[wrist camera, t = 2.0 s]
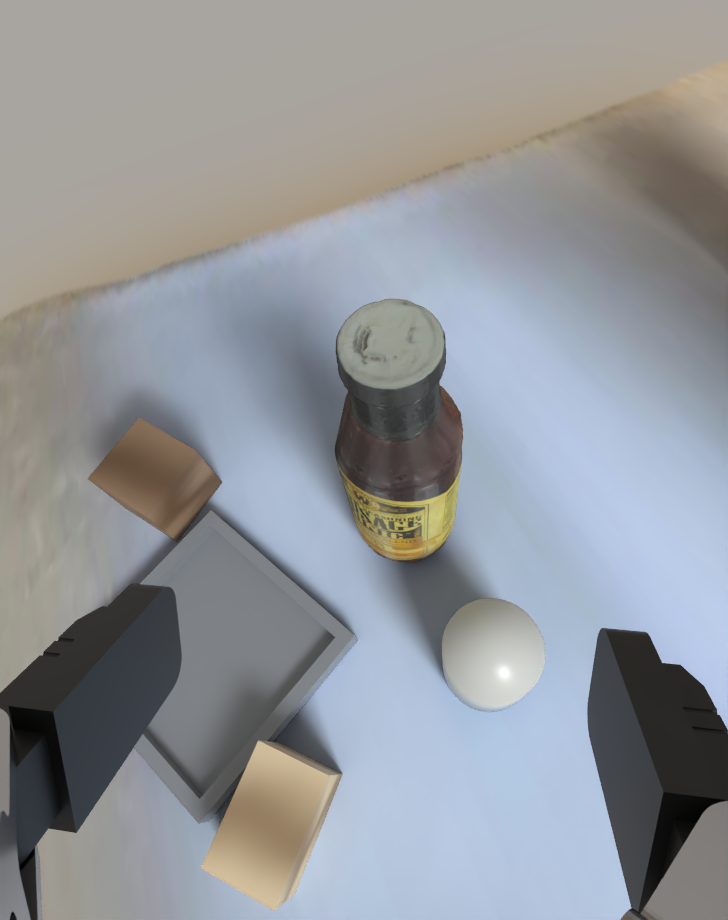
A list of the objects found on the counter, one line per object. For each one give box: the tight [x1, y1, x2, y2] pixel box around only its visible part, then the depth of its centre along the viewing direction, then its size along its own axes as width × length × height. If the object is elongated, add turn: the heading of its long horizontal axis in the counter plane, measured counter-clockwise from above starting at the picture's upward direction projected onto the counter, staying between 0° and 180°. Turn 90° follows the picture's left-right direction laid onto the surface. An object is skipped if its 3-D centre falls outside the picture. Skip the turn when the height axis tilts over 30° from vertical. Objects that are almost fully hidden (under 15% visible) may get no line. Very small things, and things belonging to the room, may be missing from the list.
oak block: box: [201, 740, 342, 911], centre depth 32 cm, size 6×4×4 cm, turn 157°
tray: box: [134, 510, 358, 823], centre depth 37 cm, size 13×13×2 cm
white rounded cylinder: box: [442, 598, 545, 712], centre depth 33 cm, size 5×5×6 cm
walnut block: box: [88, 418, 222, 541], centre depth 41 cm, size 5×5×5 cm
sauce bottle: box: [335, 299, 463, 563], centre depth 31 cm, size 6×6×20 cm
